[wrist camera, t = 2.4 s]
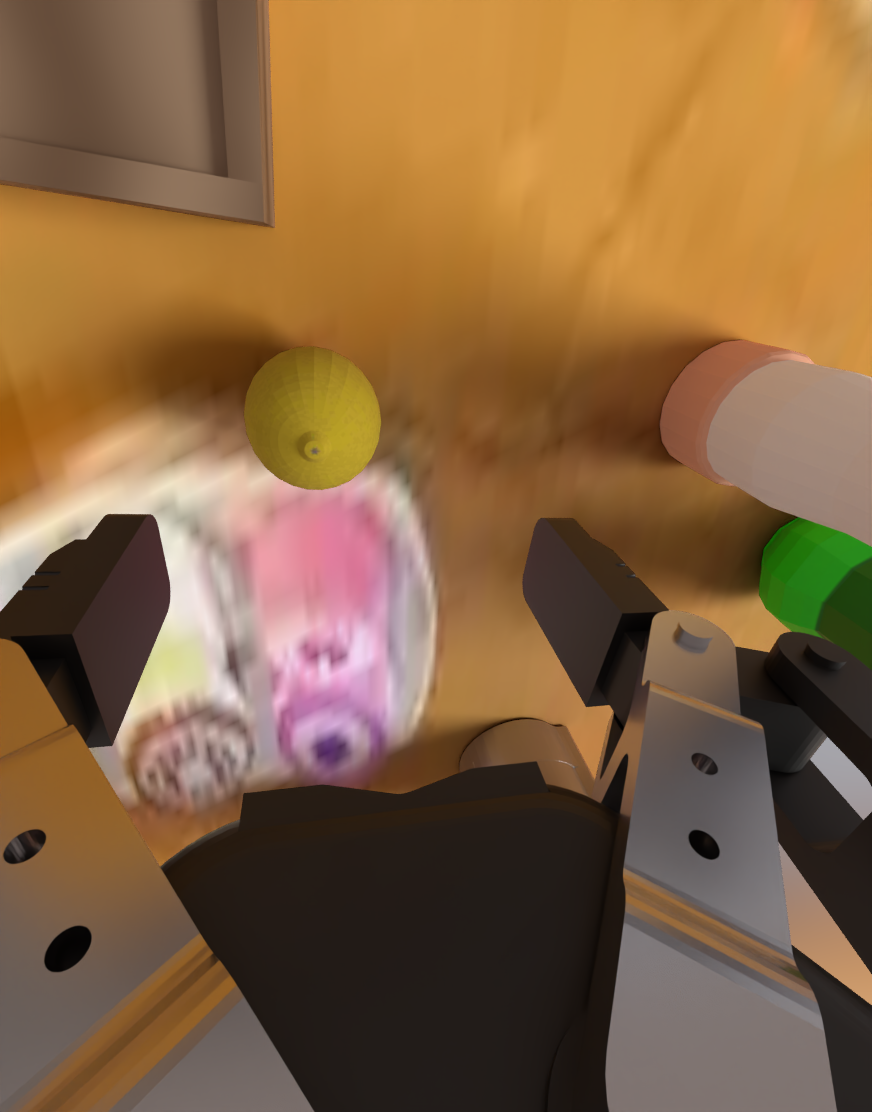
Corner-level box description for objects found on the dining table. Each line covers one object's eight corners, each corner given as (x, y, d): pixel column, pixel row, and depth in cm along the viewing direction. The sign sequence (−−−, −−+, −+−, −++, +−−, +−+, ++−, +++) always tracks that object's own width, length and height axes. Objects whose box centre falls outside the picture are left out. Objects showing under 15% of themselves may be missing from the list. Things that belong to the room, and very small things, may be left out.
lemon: (262, 450, 25) (243, 523, 18) (247, 331, 22) (218, 366, 15) (372, 448, 26) (391, 517, 19) (371, 335, 23) (393, 370, 17)
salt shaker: (744, 465, 32) (1177, 683, 16) (643, 465, 30) (1012, 707, 14) (795, 343, 28) (1431, 468, 12) (683, 335, 26) (1245, 468, 10)
